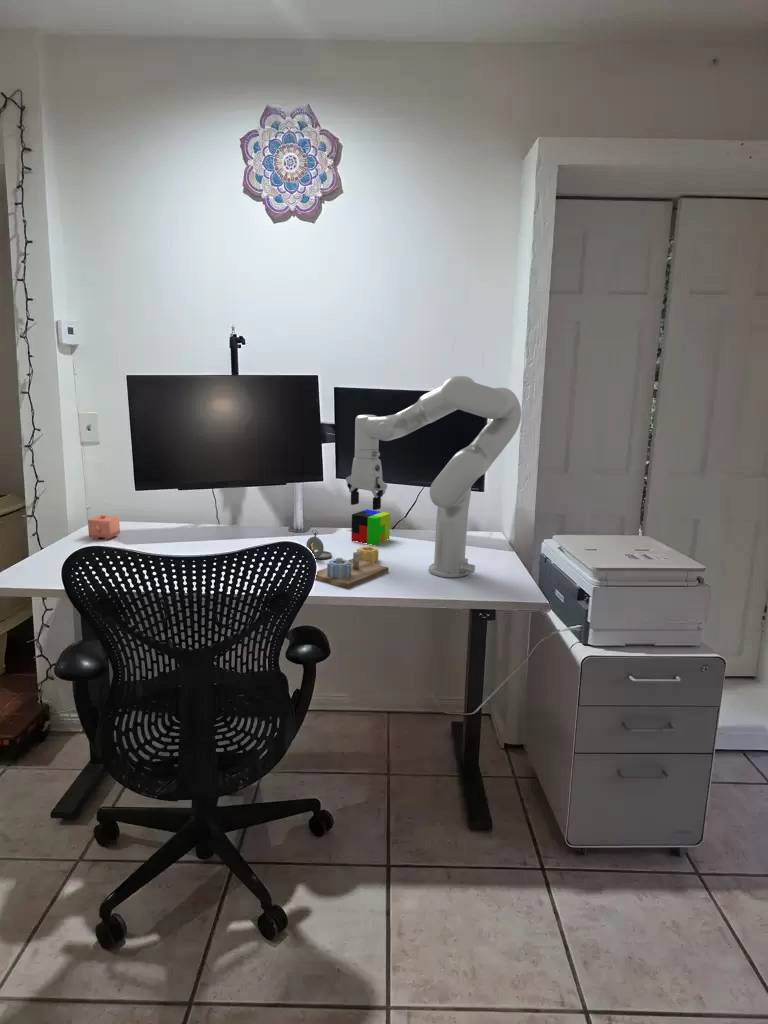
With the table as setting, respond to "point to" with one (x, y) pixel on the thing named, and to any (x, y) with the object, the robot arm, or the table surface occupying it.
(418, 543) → the table surface
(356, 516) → the puzzle toy
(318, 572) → the gear board
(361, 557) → the gear
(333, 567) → the gear
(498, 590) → the table surface
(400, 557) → the table surface
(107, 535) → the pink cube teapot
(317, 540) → the pocket watch
